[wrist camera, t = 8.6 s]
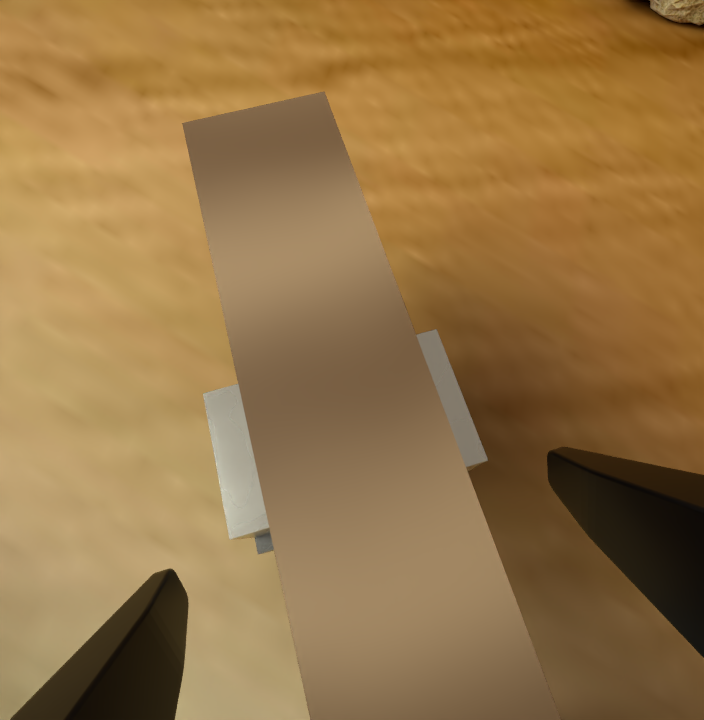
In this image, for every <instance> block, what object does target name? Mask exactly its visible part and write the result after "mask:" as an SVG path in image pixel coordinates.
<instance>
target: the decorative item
mask: <svg viewBox="0 0 704 720" xmlns="http://www.w3.org/2000/svg"><path fill="white" fill-rule="evenodd" d="M649 1H650V8H651V9H652V10H654V11H655V12H657V13H658V14H659V15H661V16H663V17H665V18H667V19H669V20H672V21H675V22H679V23H690V22H691V23H694V24H697V25H702V24H704V0H649Z"/></svg>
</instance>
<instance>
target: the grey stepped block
mask: <svg viewBox="0 0 704 720" xmlns="http://www.w3.org/2000/svg"><path fill="white" fill-rule="evenodd" d="M416 336H417V339H418V341H419V344H420V347H421V349H422V352H423V355H424V357H425V360H426V363H427V365H428V368H429V371H430V373H431V376H432V379H433V381H434V384H435V386H436V389H437V392H438V394H439V397H440V400H441V402H442V405H443V408H444V410H445V413H446V416H447V418H448V421H449V424H450V426H451V429H452V432H453V434H454V437H455V440H456V442H457V445H458V447H459V450H460V453H461V455H462V458H463V461H464V463H465V466H466V469H467V471H469V470H471V469H473V468H475V467H477V466H479V465H480V464H482V463H484V462H486V461H488V459H487V456H486V454H485V451H484V448H483V446H482V443H481V441H480V438H479V436H478V433H477V431H476V428H475V426H474V423H473V421H472V418H471V415H470V413H469V410H468V408H467V405H466V403H465V400H464V398H463V395H462V393H461V390H460V388H459V385H458V382H457V380H456V377H455V375H454V372H453V370H452V367H451V365H450V362H449V360H448V357H447V355H446V352H445V349H444V347H443V344H442V342H441V339H440V337H439V334H438V332H437V329H435V330H432V331H428V332H424V333H421V334H417V335H416ZM203 396H204V401H205V407H206V412H207V418H208V423H209V429H210V434H211V440H212V445H213V451H214V456H215V462H216V467H217V473H218V478H219V484H220V489H221V495H222V500H223V506H224V511H225V517H226V522H227V528H228V533H229V539H245V538H255V541H256V546H257V551H258V554H262V553H266V552H270V551H274V547H273V543H272V538H271V533H270V529H269V524H268V519H267V515H266V510H265V505H264V501H263V496H262V492H261V487H260V482H259V478H258V473H257V468H256V464H255V459H254V454H253V450H252V445H251V440H250V436H249V431H248V426H247V422H246V417H245V412H244V408H243V403H242V398H241V394H240V389H239V384H236V385H232V386H228V387H225V388H221V389H218V390H214V391H210V392H207V393H203Z"/></svg>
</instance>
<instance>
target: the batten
mask: <svg viewBox="0 0 704 720" xmlns="http://www.w3.org/2000/svg"><path fill="white" fill-rule="evenodd" d="M182 124H183V129H184V133H185V138H186V142H187V147H188V152H189V156H190V161H191V166H192V170H193V175H194V180H195V184H196V189H197V194H198V198H199V203H200V208H201V212H202V217H203V222H204V226H205V231H206V236H207V240H208V245H209V250H210V254H211V259H212V263H213V268H214V273H215V277H216V282H217V287H218V291H219V296H220V301H221V305H222V310H223V315H224V319H225V324H226V329H227V333H228V338H229V343H230V347H231V352H232V357H233V361H234V366H235V371H236V375H237V380H238V384H239V389H240V394H241V398H242V403H243V408H244V412H245V417H246V422H247V426H248V431H249V436H250V440H251V445H252V450H253V454H254V459H255V464H256V468H257V473H258V478H259V482H260V487H261V492H262V496H263V501H264V505H265V510H266V515H267V519H268V524H269V529H270V533H271V538H272V543H273V547H274V552H275V557H276V561H277V566H278V571H279V575H280V580H281V585H282V589H283V594H284V599H285V603H286V608H287V613H288V617H289V622H290V627H291V631H292V636H293V640H294V645H295V650H296V654H297V659H298V664H299V668H300V673H301V678H302V682H303V687H304V692H305V696H306V701H307V706H308V710H309V715H310V720H561V718H560V715H559V713H558V710H557V707H556V705H555V702H554V699H553V697H552V694H551V692H550V689H549V686H548V684H547V681H546V678H545V676H544V673H543V670H542V668H541V665H540V662H539V660H538V657H537V654H536V652H535V649H534V646H533V644H532V641H531V638H530V636H529V633H528V631H527V628H526V625H525V623H524V620H523V617H522V615H521V612H520V609H519V607H518V604H517V601H516V599H515V596H514V593H513V591H512V588H511V585H510V583H509V580H508V577H507V575H506V572H505V570H504V567H503V564H502V562H501V559H500V556H499V554H498V551H497V548H496V546H495V543H494V540H493V538H492V535H491V532H490V530H489V527H488V524H487V522H486V519H485V516H484V514H483V511H482V509H481V506H480V503H479V501H478V498H477V495H476V493H475V490H474V487H473V485H472V482H471V479H470V477H469V474H468V471H467V469H466V466H465V463H464V461H463V458H462V455H461V453H460V450H459V447H458V445H457V442H456V440H455V437H454V434H453V432H452V429H451V426H450V424H449V421H448V418H447V416H446V413H445V410H444V408H443V405H442V402H441V400H440V397H439V394H438V392H437V389H436V386H435V384H434V381H433V379H432V376H431V373H430V371H429V368H428V365H427V363H426V360H425V357H424V355H423V352H422V349H421V347H420V344H419V341H418V339H417V336H416V333H415V331H414V328H413V325H412V323H411V320H410V318H409V315H408V312H407V310H406V307H405V304H404V302H403V299H402V296H401V294H400V291H399V288H398V286H397V283H396V280H395V278H394V275H393V272H392V270H391V267H390V264H389V262H388V259H387V257H386V254H385V251H384V249H383V246H382V243H381V241H380V238H379V235H378V233H377V230H376V227H375V225H374V222H373V219H372V217H371V214H370V211H369V209H368V206H367V203H366V201H365V198H364V195H363V193H362V190H361V188H360V185H359V182H358V180H357V177H356V174H355V172H354V169H353V166H352V164H351V161H350V158H349V156H348V153H347V150H346V148H345V145H344V142H343V140H342V137H341V134H340V132H339V129H338V127H337V124H336V121H335V119H334V116H333V113H332V111H331V108H330V105H329V103H328V100H327V97H326V95H325V92H320V93H316V94H311V95H307V96H302V97H298V98H293V99H289V100H284V101H280V102H275V103H271V104H266V105H262V106H257V107H253V108H248V109H244V110H239V111H235V112H230V113H226V114H221V115H217V116H212V117H208V118H203V119H199V120H194V121H190V122H185V123H182Z"/></svg>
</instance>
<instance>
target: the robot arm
mask: <svg viewBox="0 0 704 720" xmlns="http://www.w3.org/2000/svg"><path fill="white" fill-rule="evenodd" d="M547 465H548V480H549V483H550V486H551V488H552V489H553V491H554V492H555V493H556V495H557V496H558V497H559V499H560V500H561V501H562V502H563V504H564V505H565V506H566V508H567V509H568V510H569V512H570V513H571V514H572V516H573V517H574V518H575V520H576V521H577V522H578V524H579V525H580V526H581V527H582V529H583V530H584V531H585V532H586V534H587V535H588V536H589V537H590V538H591V539H592V540H593V542H594V543H595V544H596V545H597V546H598V547H599V548H600V549H601V550H602V551H603V552H604V553H605V554H606V555H607V556H608V557H609V558H610V560H611V561H612V562H613V563H614V564H615V565H616V566H617V567H618V568H619V569H620V570H621V571H622V572H623V573H624V574H625V575H626V576H627V577H628V579H629V580H630V581H631V582H632V583H633V584H634V585H635V586H636V587H637V588H638V589H639V590H640V591H641V592H642V593H643V594H644V595H645V596H646V597H647V599H648V600H649V601H650V602H651V603H652V604H653V605H654V606H655V607H656V608H657V609H658V610H659V611H660V612H661V613H662V614H663V615H664V616H665V618H666V619H667V620H668V621H669V622H670V623H671V624H672V625H673V626H674V627H675V628H676V629H677V630H678V631H679V632H680V633H681V634H682V635H683V636H684V638H685V639H686V640H687V641H688V642H689V643H690V644H691V645H692V646H693V647H694V648H695V649H696V650H697V651H698V652H699V653H700V654H701V655H702V657H703V658H704V475H701V474H696V473H691V472H686V471H681V470H676V469H671V468H666V467H661V466H656V465H652V464H647V463H642V462H637V461H632V460H627V459H622V458H617V457H612V456H608V455H603V454H598V453H593V452H588V451H583V450H578V449H573V448H568V447H560V448H557V449H554V450H551V451H549V452H548V455H547ZM187 619H188V596H187V593H186V591H185V589H184V587H183V585H182V583H181V581H180V580H179V578H178V576H177V574H176V572H175V571H174V570H173V569H166V570H163V571H160V572H157V573H154V574H153V575H152V576H151V577H150V578H149V579H148V580H147V581H146V582H145V583H144V584H143V585H142V586H141V587H140V588H139V589H138V590H137V591H136V592H135V593H134V594H133V595H132V596H131V597H130V598H129V599H128V600H127V601H126V602H125V603H124V604H123V605H122V606H121V607H120V608H119V609H118V610H117V611H116V612H115V613H114V614H113V615H112V616H111V617H110V618H109V619H108V620H107V621H106V622H105V623H104V624H103V626H102V627H101V628H100V629H99V630H98V631H97V632H96V633H95V634H94V635H93V636H92V637H91V638H90V639H89V640H88V641H87V642H86V643H85V644H84V645H83V646H82V647H81V648H80V649H79V650H78V651H77V652H76V653H75V654H74V655H73V656H72V657H71V658H70V659H69V660H68V661H67V662H66V663H65V664H64V665H63V666H62V667H61V668H60V669H59V670H58V671H57V672H56V673H55V674H54V675H53V676H52V677H51V678H50V679H49V680H48V681H47V682H46V683H45V684H44V685H43V686H42V687H41V688H40V689H39V690H38V691H37V692H36V693H35V694H34V695H33V696H32V697H31V698H30V699H29V700H28V701H27V702H26V704H25V705H24V706H23V707H22V708H21V709H20V710H19V711H18V712H17V713H16V714H15V715H14V716H13V717H12V718H11V719H10V720H175V714H176V709H177V704H178V698H179V693H180V687H181V682H182V676H183V670H184V660H185V647H186V633H187Z"/></svg>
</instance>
